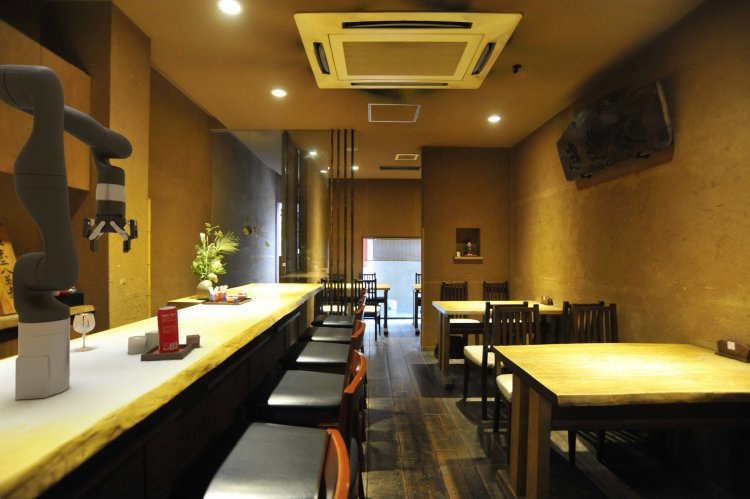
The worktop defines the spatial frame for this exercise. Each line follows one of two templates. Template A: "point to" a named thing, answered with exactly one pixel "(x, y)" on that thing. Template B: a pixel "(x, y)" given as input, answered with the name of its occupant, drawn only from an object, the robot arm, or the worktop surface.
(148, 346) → the sage painted block
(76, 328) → the wineglass
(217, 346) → the worktop surface
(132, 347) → the beige block
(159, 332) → the beverage can
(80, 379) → the worktop surface
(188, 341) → the walnut block
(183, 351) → the lacquer tray
